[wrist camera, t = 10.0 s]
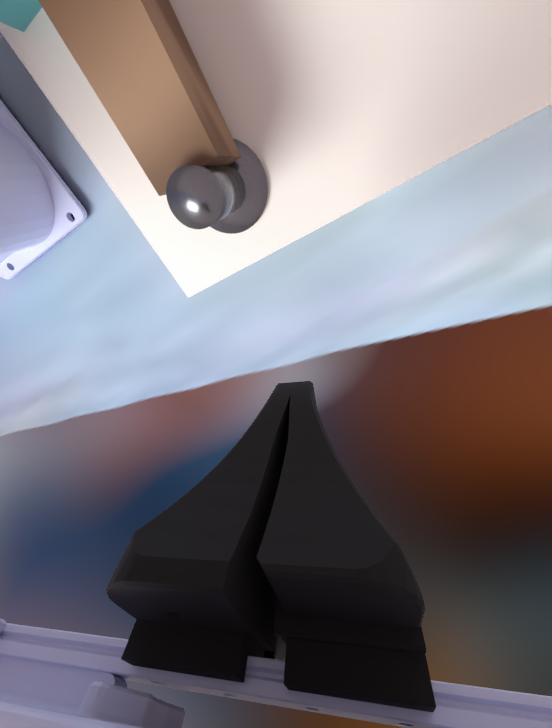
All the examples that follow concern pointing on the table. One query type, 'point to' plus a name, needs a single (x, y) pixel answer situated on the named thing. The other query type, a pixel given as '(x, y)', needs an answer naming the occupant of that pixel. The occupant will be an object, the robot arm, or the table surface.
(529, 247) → the table surface
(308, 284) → the table surface
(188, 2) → the board
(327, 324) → the table surface
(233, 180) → the folding leg
